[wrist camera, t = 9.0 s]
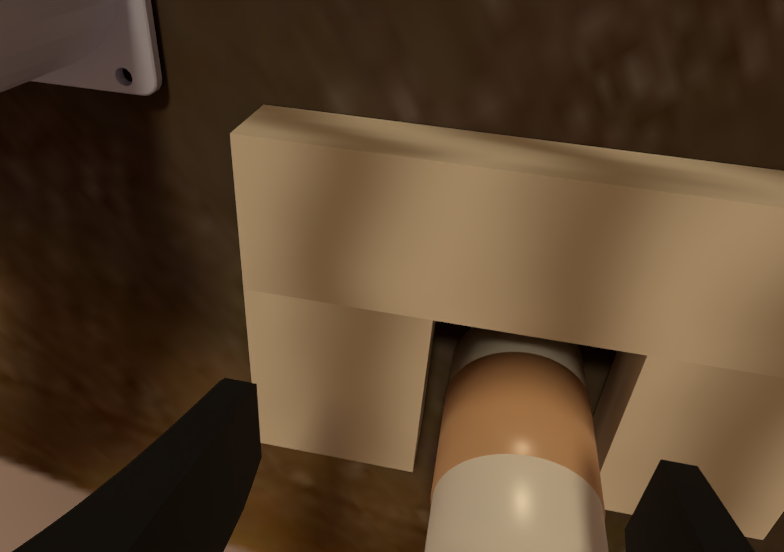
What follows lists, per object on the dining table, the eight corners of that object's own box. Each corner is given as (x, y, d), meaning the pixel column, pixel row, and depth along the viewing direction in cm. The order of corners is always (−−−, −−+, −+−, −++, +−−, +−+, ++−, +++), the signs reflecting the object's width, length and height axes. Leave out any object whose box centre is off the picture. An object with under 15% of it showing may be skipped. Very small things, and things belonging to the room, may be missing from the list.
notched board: (279, 394, 24) (256, 441, 22) (263, 104, 18) (230, 133, 16) (740, 479, 22) (763, 539, 20) (919, 188, 16) (980, 234, 14)
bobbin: (437, 394, 23) (403, 600, 16) (470, 298, 20) (446, 499, 14) (557, 427, 23) (572, 649, 16) (606, 334, 20) (649, 556, 13)
